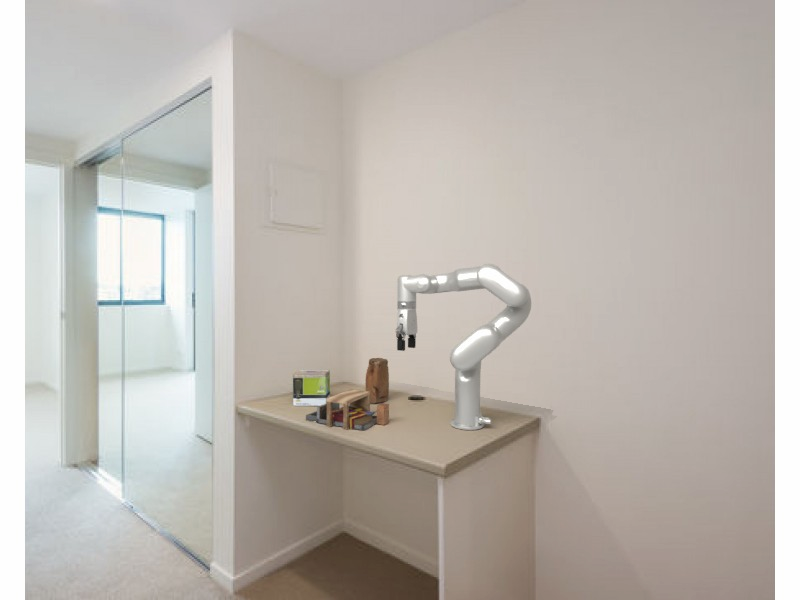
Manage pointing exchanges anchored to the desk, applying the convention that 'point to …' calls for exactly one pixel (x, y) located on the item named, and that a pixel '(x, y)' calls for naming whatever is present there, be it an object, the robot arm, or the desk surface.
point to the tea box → (311, 387)
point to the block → (377, 380)
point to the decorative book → (353, 416)
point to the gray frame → (312, 416)
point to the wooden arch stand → (348, 404)
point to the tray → (379, 419)
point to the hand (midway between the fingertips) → (406, 349)
